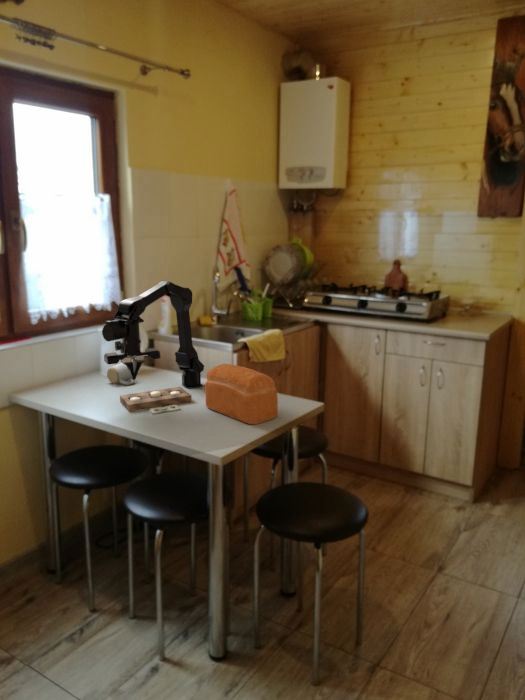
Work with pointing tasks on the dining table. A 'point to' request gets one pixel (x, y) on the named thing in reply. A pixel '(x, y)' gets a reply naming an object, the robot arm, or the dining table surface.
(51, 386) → the dining table surface
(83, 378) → the dining table surface
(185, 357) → the robot arm
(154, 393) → the off-white egg
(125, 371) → the ceramic mug
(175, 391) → the white egg
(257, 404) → the bread
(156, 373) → the dining table surface
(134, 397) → the cream egg
